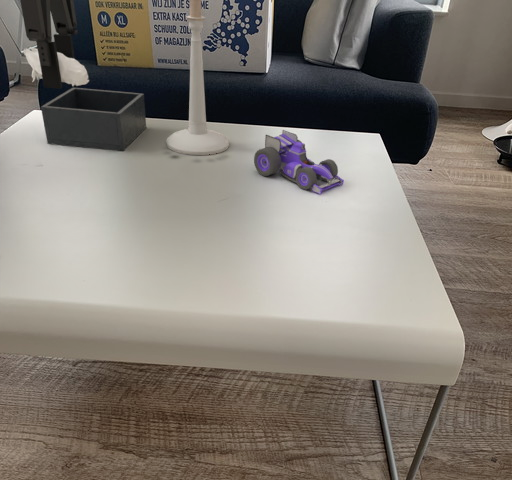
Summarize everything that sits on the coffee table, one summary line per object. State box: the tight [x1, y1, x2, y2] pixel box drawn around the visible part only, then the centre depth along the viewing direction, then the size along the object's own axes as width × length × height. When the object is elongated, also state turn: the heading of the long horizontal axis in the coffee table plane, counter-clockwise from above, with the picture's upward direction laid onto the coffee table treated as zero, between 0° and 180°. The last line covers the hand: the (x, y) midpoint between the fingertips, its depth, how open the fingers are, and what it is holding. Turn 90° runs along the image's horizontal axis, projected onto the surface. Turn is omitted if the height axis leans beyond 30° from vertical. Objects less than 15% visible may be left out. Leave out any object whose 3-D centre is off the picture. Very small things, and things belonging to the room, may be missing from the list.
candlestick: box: [165, 0, 230, 156], centre depth 103 cm, size 13×13×30 cm
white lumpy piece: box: [23, 46, 90, 87], centre depth 88 cm, size 5×7×10 cm
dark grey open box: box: [40, 87, 147, 152], centre depth 112 cm, size 16×16×7 cm
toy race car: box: [253, 129, 345, 195], centre depth 99 cm, size 10×15×6 cm, turn 46°
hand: (61, 82), depth 89 cm, fingers closed on white lumpy piece, 5 cm apart
